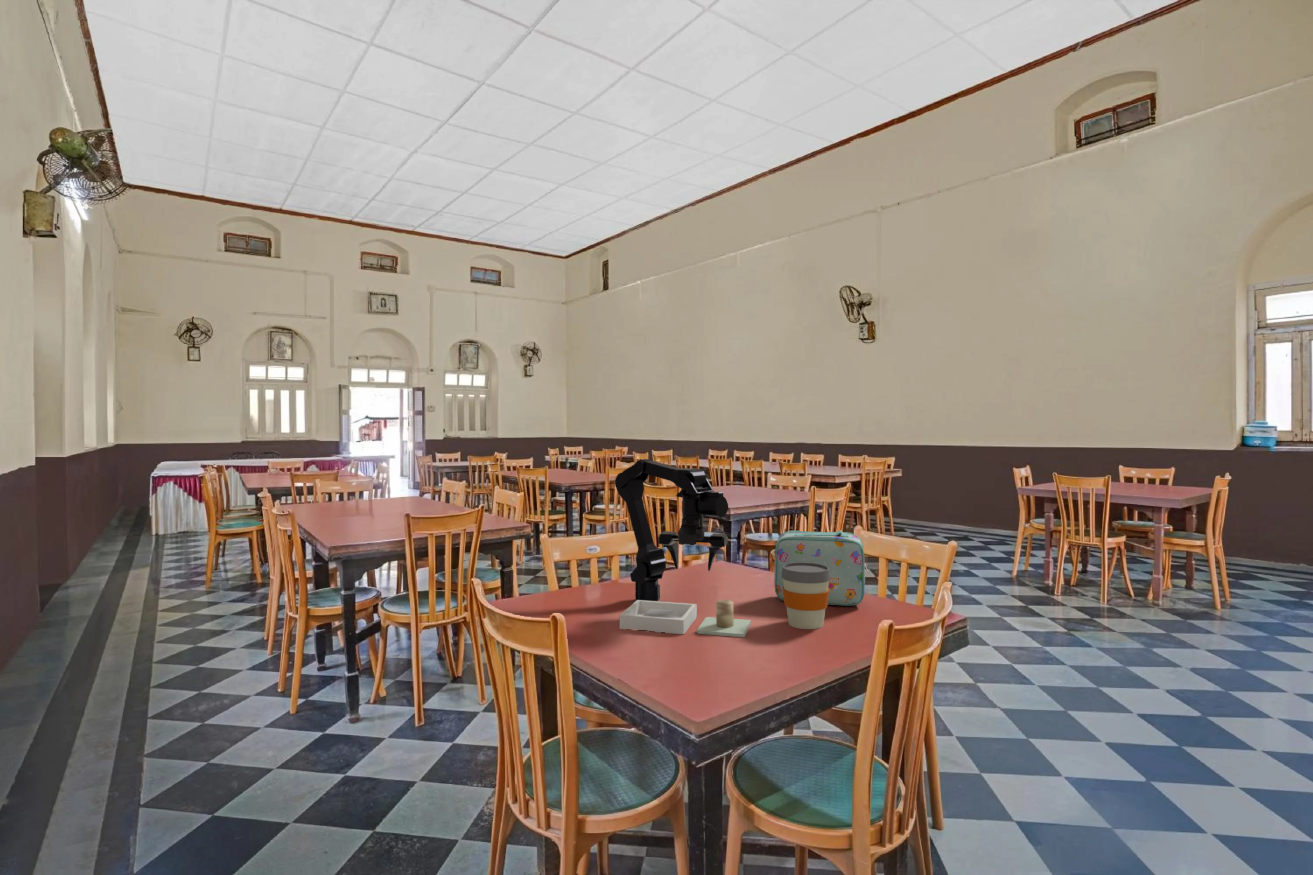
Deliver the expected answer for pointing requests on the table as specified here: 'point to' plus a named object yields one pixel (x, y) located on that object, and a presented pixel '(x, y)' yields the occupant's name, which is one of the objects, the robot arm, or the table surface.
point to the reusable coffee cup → (805, 593)
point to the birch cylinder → (724, 613)
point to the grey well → (659, 616)
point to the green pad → (737, 630)
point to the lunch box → (825, 562)
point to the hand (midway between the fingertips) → (693, 569)
